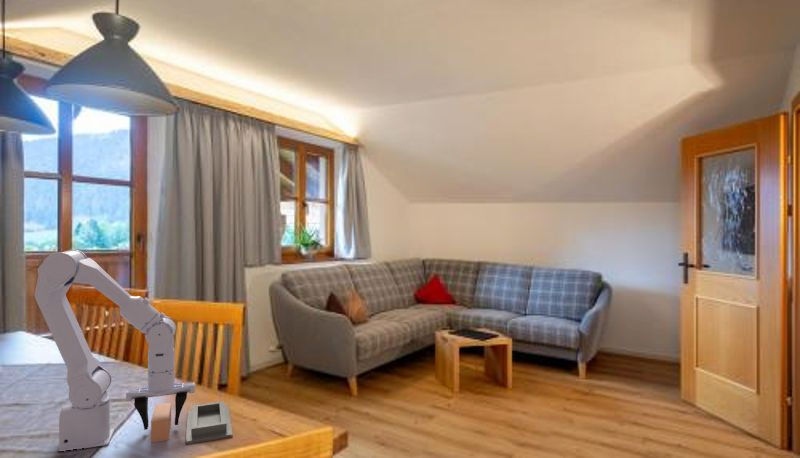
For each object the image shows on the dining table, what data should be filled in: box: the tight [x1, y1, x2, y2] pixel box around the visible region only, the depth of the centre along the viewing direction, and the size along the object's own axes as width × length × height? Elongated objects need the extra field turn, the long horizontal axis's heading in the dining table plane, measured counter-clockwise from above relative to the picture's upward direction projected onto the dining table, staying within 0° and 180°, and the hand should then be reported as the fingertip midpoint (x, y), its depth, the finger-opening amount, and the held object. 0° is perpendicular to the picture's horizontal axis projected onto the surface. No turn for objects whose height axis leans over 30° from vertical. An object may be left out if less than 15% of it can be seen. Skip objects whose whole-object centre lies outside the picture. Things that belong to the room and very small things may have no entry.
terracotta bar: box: [150, 402, 172, 443], centre depth 113 cm, size 4×10×5 cm, turn 23°
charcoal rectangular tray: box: [185, 400, 233, 445], centre depth 117 cm, size 10×18×3 cm, turn 23°
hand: (161, 425), depth 113 cm, fingers open, 6 cm apart
